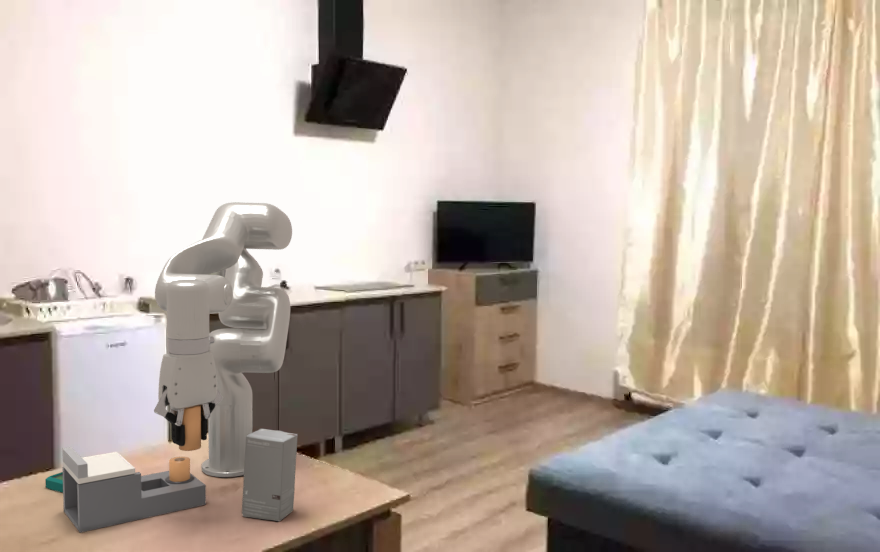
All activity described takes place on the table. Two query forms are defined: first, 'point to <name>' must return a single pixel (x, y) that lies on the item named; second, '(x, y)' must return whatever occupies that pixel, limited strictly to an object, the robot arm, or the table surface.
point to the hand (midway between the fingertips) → (189, 440)
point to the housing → (131, 496)
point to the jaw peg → (192, 428)
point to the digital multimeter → (55, 482)
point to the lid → (95, 466)
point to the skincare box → (269, 474)
